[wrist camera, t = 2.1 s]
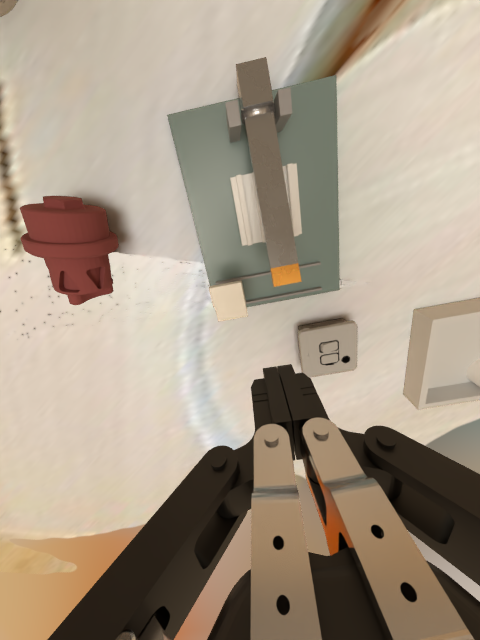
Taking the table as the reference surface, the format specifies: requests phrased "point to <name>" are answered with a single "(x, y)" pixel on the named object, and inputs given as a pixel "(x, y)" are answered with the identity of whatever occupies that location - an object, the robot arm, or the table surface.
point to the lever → (268, 169)
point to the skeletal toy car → (474, 372)
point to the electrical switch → (328, 347)
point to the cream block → (229, 300)
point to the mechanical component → (71, 245)
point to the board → (241, 196)
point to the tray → (443, 354)
